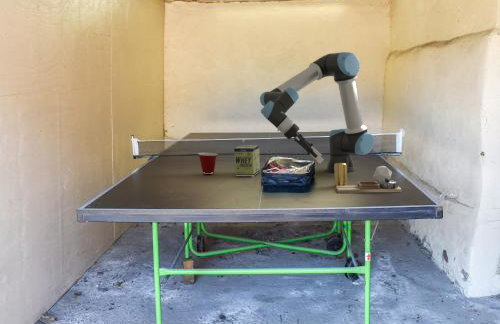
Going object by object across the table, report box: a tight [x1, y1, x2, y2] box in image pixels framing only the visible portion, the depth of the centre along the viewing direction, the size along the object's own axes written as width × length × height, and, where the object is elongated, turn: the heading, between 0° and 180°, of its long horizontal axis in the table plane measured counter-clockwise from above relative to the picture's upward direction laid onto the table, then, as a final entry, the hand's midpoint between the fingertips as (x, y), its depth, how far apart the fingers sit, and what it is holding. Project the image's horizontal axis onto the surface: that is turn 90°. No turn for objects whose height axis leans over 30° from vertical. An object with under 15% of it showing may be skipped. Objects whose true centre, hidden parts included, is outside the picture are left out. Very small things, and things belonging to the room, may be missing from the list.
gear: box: [377, 177, 399, 189], centre depth 245 cm, size 9×9×4 cm
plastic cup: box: [197, 152, 219, 173], centre depth 299 cm, size 11×11×12 cm
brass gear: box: [334, 163, 348, 187], centre depth 255 cm, size 6×6×11 cm
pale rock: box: [372, 165, 393, 182], centre depth 262 cm, size 8×9×10 cm
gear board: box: [335, 180, 403, 194], centre depth 246 cm, size 10×28×3 cm, turn 86°
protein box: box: [233, 144, 261, 176], centre depth 294 cm, size 10×16×16 cm
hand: (320, 159), depth 254 cm, fingers open, 13 cm apart
